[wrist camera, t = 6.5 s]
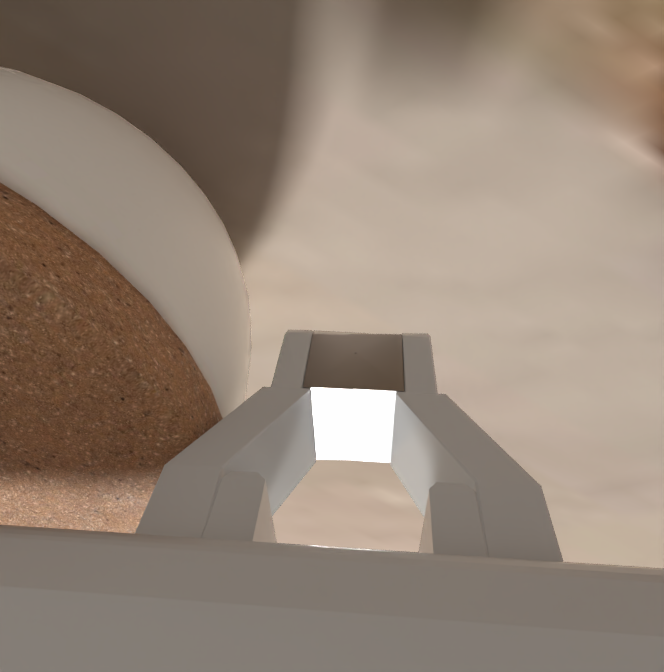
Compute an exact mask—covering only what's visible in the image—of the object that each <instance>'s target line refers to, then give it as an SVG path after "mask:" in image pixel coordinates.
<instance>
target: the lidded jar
mask: <svg viewBox="0 0 664 672" xmlns="http://www.w3.org/2000/svg"><path fill="white" fill-rule="evenodd" d="M251 349H252V345H251V317H250V306H249V296H248V292H247V288H246V285H245V281H244V277H243V274H242V270H241V267H240V263H239V260H238V257H237V253H236V250H235V248H234V246H233V244H232V242H231V239H230V237H229V235H228V233H227V231H226V228H225V226H224V224H223V222H222V221H221V219H220V217H219V216H218V214H217V213H216V211H215V210H214V208H213V206H212V205H211V203H210V202H209V200H208V199H207V197H206V196H205V194H204V193H203V192H202V190H201V189H200V188H199V187H198V186H197V184H196V183H195V182H194V181H193V180H192V178H191V177H190V176H189V175H188V174H187V173H186V171H185V170H184V169H183V168H182V167H181V165H180V164H178V163H177V162H176V161H175V160H174V159H173V158H172V157H171V156H170V155H169V154H168V153H167V152H165V151H164V150H163V149H162V148H161V147H160V146H159V145H158V144H157V143H156V142H155V141H154V140H153V139H151V138H150V137H149V136H147V135H146V134H145V133H143V132H142V131H140V130H139V129H138V128H136V127H135V126H133V125H132V124H131V123H129V122H128V121H126V120H125V119H124V118H122V117H121V116H119V115H118V114H116V113H115V112H113V111H111V110H109V109H107V108H105V107H104V106H102V105H100V104H98V103H96V102H94V101H92V100H91V99H89V98H87V97H85V96H83V95H81V94H79V93H76V92H74V91H71V90H69V89H66V88H63V87H61V86H58V85H55V84H53V83H50V82H48V81H45V80H42V79H40V78H37V77H34V76H31V75H29V74H26V73H23V72H20V71H18V70H14V69H9V68H5V67H0V525H15V526H30V527H45V528H60V529H75V530H90V531H105V532H120V533H135V532H136V529H137V527H138V525H139V523H140V520H141V518H142V516H143V513H144V511H145V509H146V506H147V504H148V502H149V500H150V497H151V495H152V493H153V490H154V488H155V486H156V483H157V481H158V479H159V477H160V474H161V472H162V470H163V467H164V465H165V464H166V463H168V462H169V461H170V460H171V459H173V458H174V457H175V456H176V455H178V454H179V453H180V452H181V451H183V450H184V449H185V448H186V447H188V446H189V445H190V444H192V443H193V442H194V441H195V440H197V439H198V438H199V437H200V436H202V435H203V434H204V433H205V432H207V431H208V430H209V429H211V428H212V427H213V426H214V425H216V424H217V423H218V422H219V421H221V420H222V419H223V418H224V417H226V416H227V415H228V414H229V413H231V412H232V411H233V410H235V409H236V408H237V407H238V406H240V405H241V404H242V403H243V402H245V399H246V392H247V384H248V376H249V367H250V358H251Z"/></svg>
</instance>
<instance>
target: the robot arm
mask: <svg viewBox="0 0 664 672" xmlns="http://www.w3.org/2000/svg"><path fill="white" fill-rule="evenodd" d="M316 459H326V460H357V461H370V462H383V463H391V467H392V468H393V470H394V471H395V473H396V475H397V476H398V478H399V479H400V481H401V482H402V484H403V485H404V487H405V489H406V490H407V492H408V493H409V495H410V496H411V498H412V499H413V501H414V503H415V504H416V506H417V507H418V509H419V510H420V512H421V513H422V515H423V517H424V522H423V528H422V534H421V540H420V546H419V552H404V551H389V550H374V549H359V548H344V547H329V546H314V545H300V544H285V543H277V542H276V536H275V531H274V525H273V519H272V516H273V514H274V513H275V512H276V511H277V509H278V508H279V507H280V506H281V504H282V503H283V502H284V501H285V500H286V498H287V497H288V496H289V495H290V493H291V492H292V491H293V490H294V488H295V487H296V486H297V485H298V483H299V482H300V481H301V480H302V479H303V477H304V476H305V475H306V474H307V472H308V471H309V470H310V469H311V467H312V466H313V465H314V464H315V462H316ZM0 672H664V568H649V567H634V566H619V565H604V564H589V563H573V562H563V558H562V555H561V552H560V548H559V545H558V542H557V538H556V535H555V531H554V528H553V525H552V521H551V518H550V515H549V511H548V508H547V504H546V501H545V498H544V494H543V491H542V488H541V486H540V485H539V484H538V483H537V482H536V481H535V480H534V479H533V478H532V477H531V476H530V475H529V474H528V473H527V472H526V471H525V470H524V469H523V468H522V467H521V466H520V465H519V464H518V463H517V462H516V461H515V460H514V459H512V458H511V457H510V456H509V455H508V454H507V453H506V452H505V451H504V450H503V449H502V448H501V447H500V446H499V445H498V444H497V443H496V442H495V441H494V440H493V439H492V438H491V437H490V436H489V435H488V434H487V433H486V432H485V431H483V430H482V429H481V428H480V427H479V426H478V425H477V424H476V423H475V422H474V421H473V420H472V419H471V418H470V417H469V416H468V415H467V414H466V413H465V412H464V411H463V410H462V409H461V408H460V407H459V406H458V405H457V404H456V403H454V402H453V401H452V400H451V399H450V398H449V397H448V396H447V395H446V394H438V392H437V384H436V376H435V369H434V361H433V353H432V345H431V337H430V335H429V334H412V333H402V334H369V333H354V332H334V331H315V330H314V331H312V330H288V331H287V332H286V333H285V335H284V339H283V343H282V347H281V350H280V354H279V358H278V362H277V366H276V370H275V373H274V377H273V381H272V385H271V387H262V388H261V389H260V390H259V391H257V392H256V393H255V394H254V395H252V396H251V397H250V398H248V399H247V400H246V401H245V402H243V403H242V404H241V405H240V406H238V407H237V408H236V409H235V410H233V411H232V412H231V413H229V414H228V415H227V416H226V417H224V418H223V419H222V420H221V421H219V422H218V423H217V424H216V425H214V426H213V427H212V428H211V429H209V430H208V431H207V432H205V433H204V434H203V435H202V436H200V437H199V438H198V439H197V440H195V441H194V442H193V443H192V444H190V445H189V446H188V447H186V448H185V449H184V450H183V451H181V452H180V453H179V454H178V455H176V456H175V457H174V458H173V459H171V460H170V461H169V462H168V463H166V464H165V465H164V467H163V470H162V472H161V474H160V477H159V479H158V481H157V483H156V486H155V488H154V490H153V493H152V495H151V497H150V500H149V502H148V504H147V506H146V509H145V511H144V513H143V516H142V518H141V520H140V523H139V525H138V527H137V529H136V532H135V533H120V532H105V531H90V530H75V529H60V528H45V527H30V526H15V525H0Z"/></svg>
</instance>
